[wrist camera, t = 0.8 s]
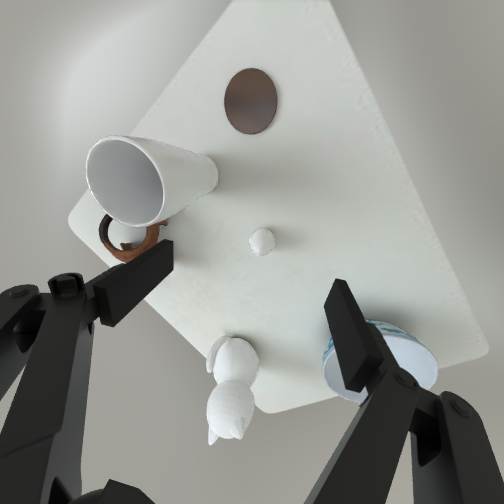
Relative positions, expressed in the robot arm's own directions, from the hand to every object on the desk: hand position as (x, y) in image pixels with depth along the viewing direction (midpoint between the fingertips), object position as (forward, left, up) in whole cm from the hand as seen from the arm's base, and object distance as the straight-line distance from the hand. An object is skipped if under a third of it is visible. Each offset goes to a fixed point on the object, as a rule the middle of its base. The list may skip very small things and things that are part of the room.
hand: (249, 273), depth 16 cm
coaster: (-15, +1, -15) cm, 21 cm away
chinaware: (+23, +12, -16) cm, 31 cm away
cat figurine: (+26, -12, -16) cm, 32 cm away
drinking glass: (-9, -8, -16) cm, 19 cm away
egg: (+2, -1, -16) cm, 16 cm away
